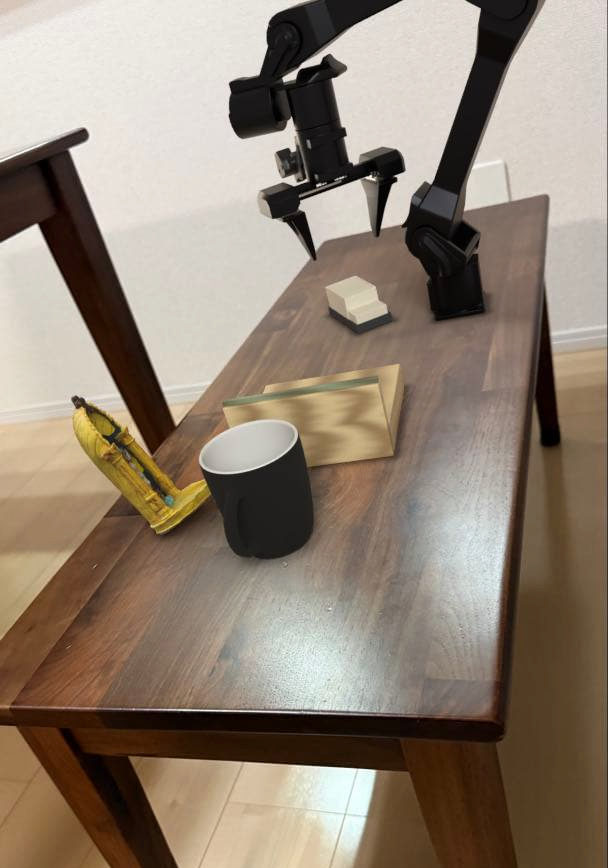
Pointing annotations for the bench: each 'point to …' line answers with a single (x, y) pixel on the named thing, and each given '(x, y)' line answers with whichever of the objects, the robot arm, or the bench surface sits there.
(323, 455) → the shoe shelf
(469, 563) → the bench surface
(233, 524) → the mug
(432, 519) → the bench surface
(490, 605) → the bench surface
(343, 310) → the cream stepped block
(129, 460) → the shrine
